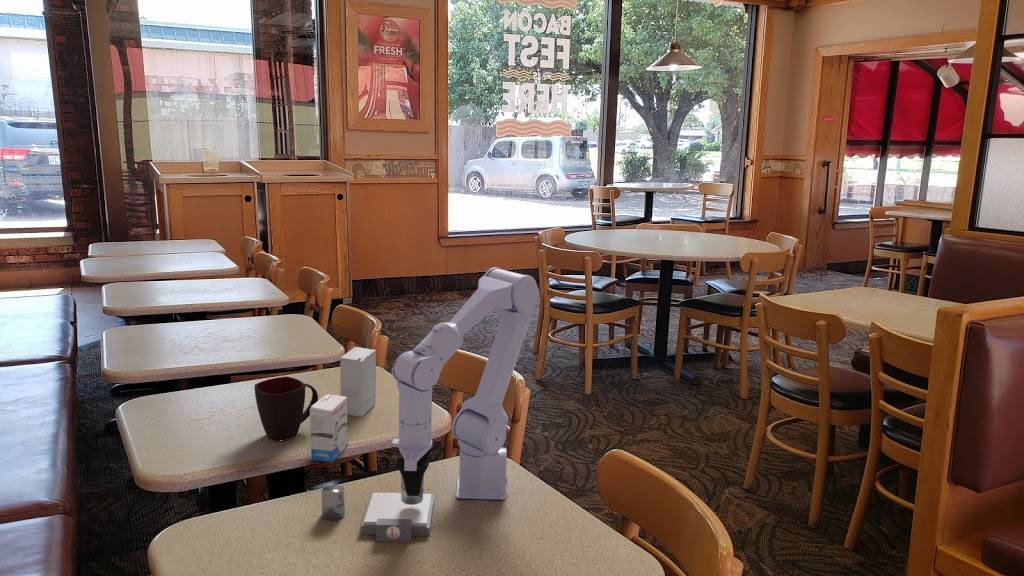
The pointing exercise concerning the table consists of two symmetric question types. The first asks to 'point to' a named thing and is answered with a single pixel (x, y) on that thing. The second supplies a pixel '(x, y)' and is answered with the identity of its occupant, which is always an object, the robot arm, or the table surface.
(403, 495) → the cylinder
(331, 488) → the cylinder
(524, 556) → the table surface
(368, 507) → the scale
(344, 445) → the ink box
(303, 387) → the cup
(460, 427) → the robot arm
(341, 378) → the skincare box
